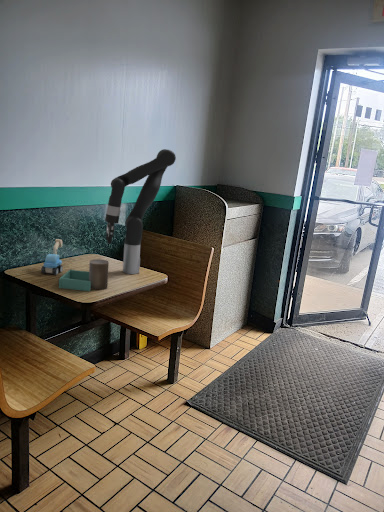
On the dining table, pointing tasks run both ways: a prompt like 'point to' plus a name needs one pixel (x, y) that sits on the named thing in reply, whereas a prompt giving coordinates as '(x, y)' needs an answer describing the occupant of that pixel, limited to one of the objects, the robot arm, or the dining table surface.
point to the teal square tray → (75, 280)
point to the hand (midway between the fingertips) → (108, 241)
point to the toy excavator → (53, 261)
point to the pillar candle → (98, 273)
